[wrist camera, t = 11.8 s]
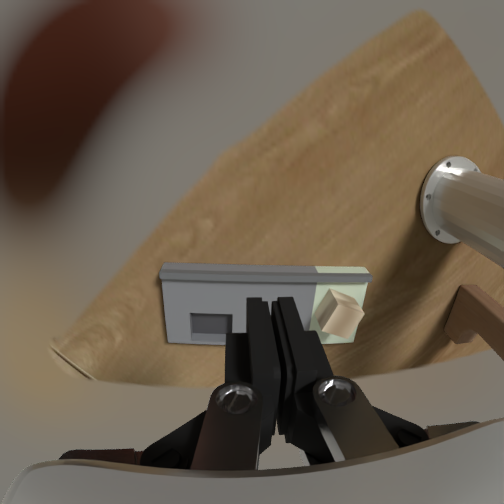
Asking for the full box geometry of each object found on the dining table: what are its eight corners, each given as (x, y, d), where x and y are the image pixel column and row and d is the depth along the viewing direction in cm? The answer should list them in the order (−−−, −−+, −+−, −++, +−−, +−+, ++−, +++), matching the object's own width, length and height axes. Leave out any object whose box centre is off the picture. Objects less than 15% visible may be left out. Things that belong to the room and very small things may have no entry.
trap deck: (364, 266, 40) (372, 276, 38) (349, 334, 44) (355, 346, 41) (164, 262, 39) (159, 272, 36) (170, 333, 43) (166, 346, 40)
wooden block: (459, 328, 46) (514, 391, 29) (442, 330, 46) (497, 398, 29) (476, 284, 43) (543, 341, 26) (459, 283, 43) (528, 345, 26)
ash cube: (354, 297, 40) (364, 313, 36) (339, 321, 41) (347, 339, 37) (329, 288, 39) (338, 304, 35) (314, 313, 40) (321, 330, 36)
